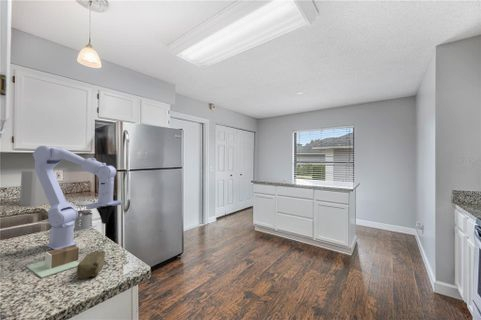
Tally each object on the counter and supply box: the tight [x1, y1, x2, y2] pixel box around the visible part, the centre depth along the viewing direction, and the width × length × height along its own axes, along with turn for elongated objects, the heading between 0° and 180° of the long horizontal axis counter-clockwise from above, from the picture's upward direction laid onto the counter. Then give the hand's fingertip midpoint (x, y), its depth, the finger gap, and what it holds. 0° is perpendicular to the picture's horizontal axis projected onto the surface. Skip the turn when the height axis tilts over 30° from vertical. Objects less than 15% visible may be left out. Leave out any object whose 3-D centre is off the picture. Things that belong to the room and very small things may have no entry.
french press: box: [73, 183, 95, 232], centre depth 120 cm, size 10×12×25 cm
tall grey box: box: [19, 170, 49, 207], centre depth 180 cm, size 19×15×28 cm
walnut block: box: [44, 245, 80, 269], centre depth 78 cm, size 4×4×8 cm
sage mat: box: [25, 259, 80, 279], centre depth 76 cm, size 14×11×1 cm
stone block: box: [76, 250, 106, 280], centre depth 74 cm, size 6×12×5 cm, turn 21°
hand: (104, 223), depth 96 cm, fingers closed
